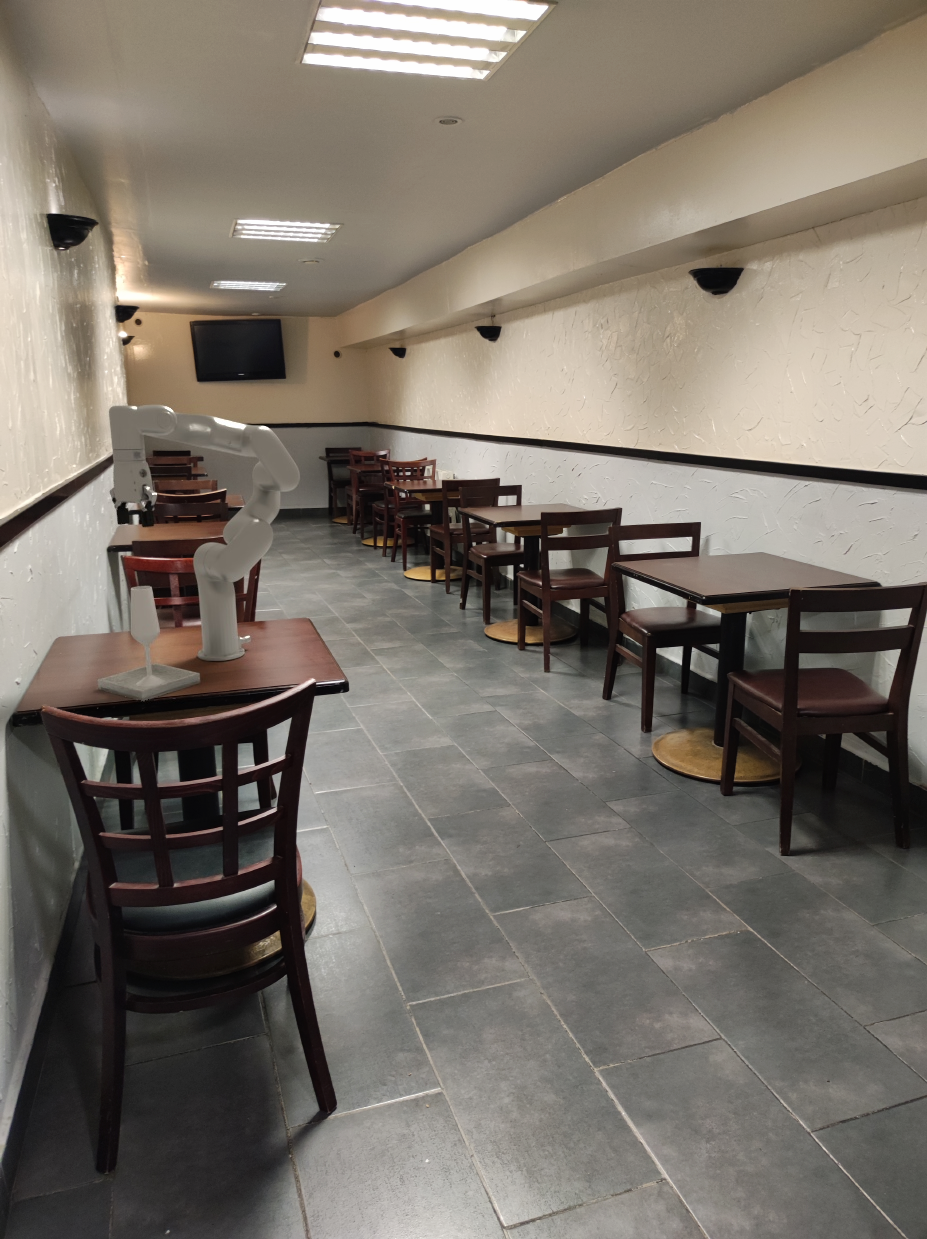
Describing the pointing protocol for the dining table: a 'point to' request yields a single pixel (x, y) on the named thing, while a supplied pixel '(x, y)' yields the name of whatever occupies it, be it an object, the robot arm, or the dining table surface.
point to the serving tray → (172, 682)
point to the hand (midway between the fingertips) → (135, 525)
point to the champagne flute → (145, 627)
